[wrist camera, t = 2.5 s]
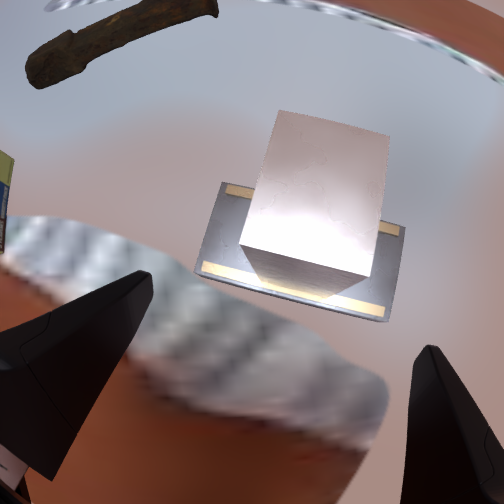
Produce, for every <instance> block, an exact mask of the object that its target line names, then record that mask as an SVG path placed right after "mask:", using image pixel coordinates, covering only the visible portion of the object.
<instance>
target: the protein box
mask: <svg viewBox="0 0 504 504" xmlns="http://www.w3.org/2000/svg"><path fill="white" fill-rule="evenodd" d="M13 165H14V159H13V158H11V157H10V156H8V155H7V154H6V153H4V152H2V151H1V150H0V254H1V253H3V252H4V234H5V222H6V213H7V204H8V196H9V189H10V183H11V176H12V171H13Z"/></svg>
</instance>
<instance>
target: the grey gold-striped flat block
mask: <svg viewBox="0 0 504 504" xmlns="http://www.w3.org/2000/svg"><path fill="white" fill-rule="evenodd" d="M254 191H255V189H254V188H249V187H245V186H240V185H235V184H230V183H225V182H222V184H221V187H220V190H219V193H218V196H217V199H216V202H215V205H214V208H213V211H212V214H211V217H210V221H209V223H208V227H207V230H206V233H205V236H204V239H203V243H202V246H201V249H200V252H199V256H198V259H197V263H196V266H195V269H194V273H196V274H197V275H199V276H201V277H204V278H207V279H211V280H215V281H218V282H222V283H226V284H229V285H233V286H236V287H240V288H244V289H248V290H251V291H255V292H259V293H262V294H266V295H270V296H274V297H278V298H282V299H286V300H289V301H293V302H297V303H301V304H305V305H309V306H313V307H317V308H321V309H325V310H329V311H334V312H337V313H342V314H346V315H350V316H354V317H358V318H362V319H367V320H371V321H375V322H388V321H389V317H390V312H391V308H392V303H393V299H394V294H395V289H396V283H397V278H398V273H399V267H400V261H401V255H402V248H403V242H404V235H405V227H403V226H400V225H397V224H393V223H390V222H386V221H383V220H380V222H379V228H378V234H377V240H376V246H375V251H374V257H373V262H372V267H371V272H370V277H368V278H366V279H364V280H362V281H361V282H359V283H357V284H355V285H353V286H351V287H349V288H347V289H345V290H343V291H341V292H339V293H337V294H335V295H333V296H332V297H330V298H324V297H320V296H316V295H312V294H308V293H304V292H300V291H297V290H293V289H289V288H285V287H281V286H277V285H273V284H269V283H265V282H262V281H260V280H259V279H258V277H257V275H256V273H255V272H254V270H253V268H252V266H251V264H250V263H249V261H248V259H247V257H246V255H245V254H244V252H243V250H242V248H241V246H240V245H239V242H240V239H241V235H242V232H243V228H244V225H245V222H246V218H247V215H248V211H249V208H250V205H251V201H252V198H253V194H254Z"/></svg>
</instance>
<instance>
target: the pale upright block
mask: <svg viewBox="0 0 504 504" xmlns="http://www.w3.org/2000/svg"><path fill="white" fill-rule="evenodd" d="M389 139H390V137H389V136H386V135H383V134H379V133H375V132H372V131H368V130H365V129H362V128H358V127H354V126H350V125H346V124H342V123H338V122H334V121H330V120H326V119H321V118H317V117H312V116H308V115H303V114H298V113H293V112H287V111H282V110H279V112H278V115H277V118H276V121H275V125H274V128H273V131H272V135H271V138H270V141H269V144H268V148H267V151H266V154H265V158H264V161H263V164H262V168H261V171H260V174H259V178H258V181H257V184H256V188H255V191H254V194H253V198H252V201H251V205H250V208H249V211H248V215H247V218H246V222H245V225H244V228H243V232H242V235H241V239H240V242H239V245H240V246H241V248H242V250H243V252H244V254H245V255H246V257H247V259H248V261H249V263H250V264H251V266H252V268H253V270H254V272H255V273H256V275H257V277H258V279H259V280H260V281H262V282H265V283H269V284H273V285H277V286H281V287H285V288H289V289H293V290H297V291H300V292H304V293H308V294H312V295H316V296H320V297H324V298H330V297H332V296H333V295H335V294H337V293H339V292H341V291H343V290H345V289H347V288H349V287H351V286H353V285H355V284H357V283H359V282H361V281H362V280H364V279H366V278H368V277H370V272H371V267H372V262H373V257H374V251H375V246H376V240H377V234H378V228H379V222H380V216H381V209H382V202H383V194H384V186H385V178H386V170H387V160H388V149H389Z"/></svg>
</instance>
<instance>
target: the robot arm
mask: <svg viewBox="0 0 504 504" xmlns="http://www.w3.org/2000/svg"><path fill="white" fill-rule="evenodd" d="M152 298H153V281H152V275H151V274H150V273H149V272H145V271H142V270H138V271H136V272H134V273H131V274H129V275H127V276H125V277H123V278H120V279H118V280H116V281H114V282H112V283H110V284H107V285H105V286H103V287H101V288H99V289H97V290H94V291H92V292H90V293H88V294H86V295H84V296H81V297H79V298H77V299H75V300H73V301H71V302H69V303H67V304H64V305H62V306H60V307H58V308H56V309H54V310H52V312H51V311H50V312H48V313H45V314H43V315H41V316H39V317H37V318H35V319H32V320H30V321H28V322H25V323H23V324H21V325H18V326H16V327H13V328H10V329H8V330H5V331H2V332H0V504H31V500H30V497H29V493H28V489H27V485H26V481H25V477H24V475H25V473H26V471H27V470H28V468H29V467H31V468H32V469H34V470H35V471H36V472H38V473H39V474H41V475H42V476H44V477H45V478H47V479H48V480H50V481H51V482H52V481H53V479H54V477H55V475H56V474H57V472H58V470H59V468H60V466H61V464H62V462H63V460H64V458H65V456H66V454H67V452H68V451H69V449H70V447H71V445H72V443H73V441H74V439H75V438H76V436H77V433H78V432H79V430H80V428H81V426H82V425H83V423H84V421H85V419H86V417H87V416H88V414H89V412H90V410H91V409H92V407H93V405H94V403H95V402H96V400H97V398H98V396H99V395H100V393H101V391H102V389H103V388H104V386H105V384H106V383H107V381H108V379H109V377H110V376H111V374H112V372H113V371H114V369H115V367H116V366H117V364H118V362H119V361H120V359H121V357H122V356H123V354H124V352H125V351H126V349H127V347H128V346H129V344H130V343H131V341H132V339H133V337H134V336H135V334H136V332H137V330H138V328H139V325H140V323H141V321H142V319H143V317H144V315H145V313H146V311H147V309H148V307H149V304H150V302H151V300H152ZM400 504H504V449H503V448H502V446H501V445H500V443H499V441H498V440H497V438H496V436H495V434H494V433H493V431H492V429H491V428H490V426H489V425H488V423H487V421H486V419H485V417H484V416H483V414H482V413H481V411H480V409H479V408H478V406H477V404H476V403H475V401H474V400H473V398H472V396H471V395H470V393H469V392H468V390H467V388H466V387H465V385H464V384H463V383H462V381H461V379H460V378H459V376H458V375H457V373H456V372H455V370H454V369H453V367H452V366H451V365H450V363H449V361H448V360H447V358H446V357H445V356H444V354H443V353H442V351H441V350H440V348H439V347H438V346H434V345H426V346H425V347H424V348H423V350H422V351H421V353H420V354H419V355H418V357H417V358H416V360H415V361H414V364H413V371H412V381H411V389H410V398H409V406H408V427H407V444H406V456H405V467H404V476H403V485H402V493H401V500H400Z"/></svg>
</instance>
